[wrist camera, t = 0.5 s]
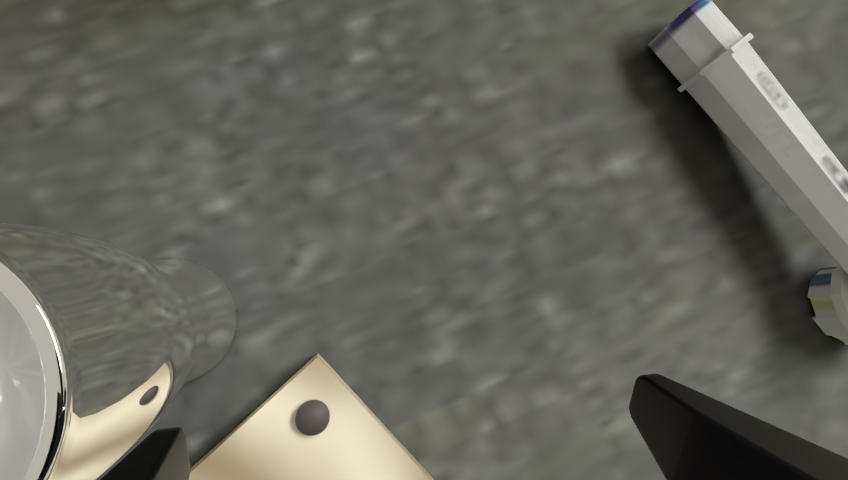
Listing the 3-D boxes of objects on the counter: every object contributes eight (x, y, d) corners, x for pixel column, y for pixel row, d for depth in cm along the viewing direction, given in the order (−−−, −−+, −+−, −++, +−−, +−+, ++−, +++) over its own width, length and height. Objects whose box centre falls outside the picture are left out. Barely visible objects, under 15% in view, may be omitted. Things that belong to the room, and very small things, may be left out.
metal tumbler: (189, 222, 22) (-101, 114, 7) (276, 330, 22) (169, 437, 8) (57, 310, 20) (-644, 400, 6) (153, 424, 21) (-272, 780, 6)
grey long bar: (730, -25, 26) (1035, 317, 24) (657, 46, 32) (891, 319, 30) (671, 18, 24) (986, 380, 23) (607, 82, 31) (848, 368, 29)
